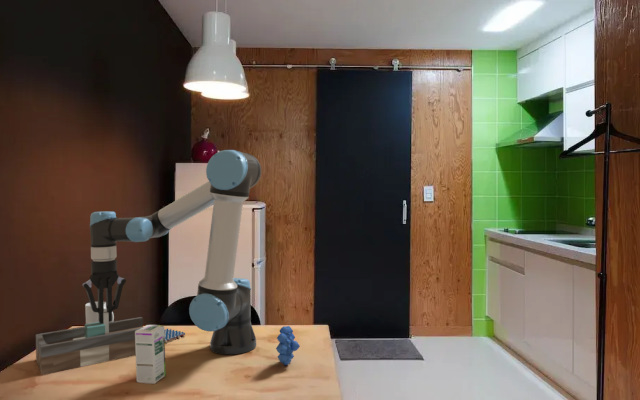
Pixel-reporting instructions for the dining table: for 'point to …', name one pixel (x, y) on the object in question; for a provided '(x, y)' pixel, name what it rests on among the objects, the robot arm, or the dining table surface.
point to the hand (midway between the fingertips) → (105, 332)
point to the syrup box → (150, 354)
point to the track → (85, 346)
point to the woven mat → (172, 335)
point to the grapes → (286, 345)
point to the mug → (94, 313)
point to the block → (94, 329)
